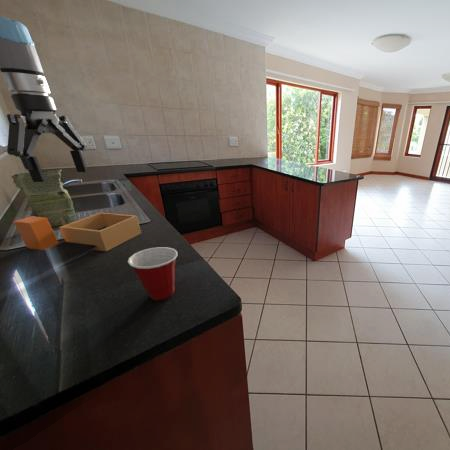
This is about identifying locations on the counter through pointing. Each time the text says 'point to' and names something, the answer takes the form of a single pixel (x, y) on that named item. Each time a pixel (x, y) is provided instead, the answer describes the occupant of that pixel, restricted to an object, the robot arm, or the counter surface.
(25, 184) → the pouch
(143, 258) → the plastic cup
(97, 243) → the open box
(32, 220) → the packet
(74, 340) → the counter surface
